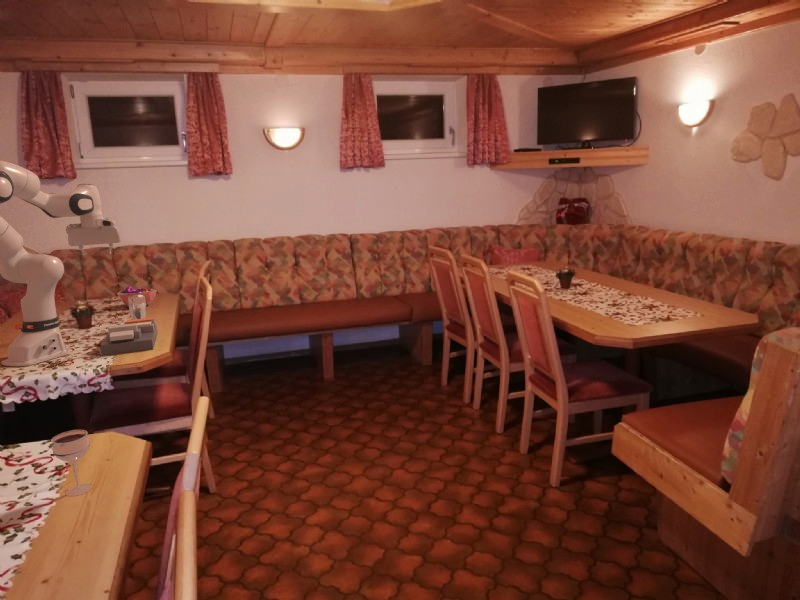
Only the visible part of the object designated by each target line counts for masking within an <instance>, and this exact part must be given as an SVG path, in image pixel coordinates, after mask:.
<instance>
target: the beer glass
mask: <svg viewBox="0 0 800 600" xmlns="http://www.w3.org/2000/svg"><path fill="white" fill-rule="evenodd" d="M128 303H129V306H128V309H129V313H130V317H131V320H134V319H144V318H147V305H146V302H145V297H144V295H133V296H129V297H128Z"/></svg>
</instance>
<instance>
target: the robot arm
mask: <svg viewBox="0 0 800 600" xmlns="http://www.w3.org/2000/svg"><path fill="white" fill-rule="evenodd" d="M12 197H16V198H17V199H18V198H19V199H20V200H21V201H22V200H23V201H24V202H26V203H28V204H30V205H32V206H35V207H37V208H39V209H40V210H41V211H42V212H43V213H44V214H45V215H46V216H48V217H49V218H52V219H57V218H67V217H68V218H70V217H79V220H80V223H70V224H68V225H67V226H66V228H65V231H66V234H67V242H68V245H69V246H70V247H78V250H79V251H80V252H81V253H82V256H83V257H88V251H85V250H84V249H83V248H84V246H94V245H108V247H109V249H107V250H106V254H107V255H111V254H112V248H113V246H114V244H119V243H120V242H122V236H121V232H120V229H119V227H118V226H117V225H116V224H117V222H116V220H114V219H110V218H105V217H104V214H103V212H102V200H101V195H100V191H99V189H98V186H96V185H95V184H91V183H79V184H77V185H76V188H74V189H73V190H71V191H70V192H64V193H53V192H52V193H51V192H49V193H45V192H44V191H42V190H41V180H40V178H39V176H38V175H37V174H36V173H34V172H33V171H31V170H30V169H28V168H25V167H23V166H21V165H18V164H15V163H12V162H8V161H5V160H0V205H1V204H4V203H6V202H8V201H9V200H10V199H12ZM64 274H65V265H64V262H63V261H62V260H61V259H60V258H59V257H57V256H53V255H50V254H45V253H43V254H42V253H40V254H39V253H38V254H37V253H30V252H28V251H27V250H26V249H25V248H24V237H23V236H22V235H21V234H20V233H18V231H16V229H15V228H14V227H13V226H12V225H11V224H10V223H9V222H8V221H7V220H6V219H4V218H3V216H1V215H0V275H1V276H2V278H3V279H5V280H6V281H9V282H12V283H17V284H26V286H27V287H26V292H25V295H24V296H23V297H21V299H20V307H21V314H22V318H23V321H22V324H19V323H16V324H14V326H13V328H14V329H15V330H20V333H19V334H18V335H17V337H16V338H15V339H14V340H13V341H12V342H11V344H9V346H8V347H7V358H5V359H3V360H2V361H1V362H0V363H1V366H5V367H29V366H33V365H36V364H39V363H42V362H47V361H51V360H54V359H57V358H60V357H64V356H67V355H68V348H67V346H66V344H65V341H64V340H63V336H62V333H61V330H60V329H61V328H60V325H61V324H60V318H59V316H58V314H57V309H56V301H55V300H56V299H55V292H56V288H57V284H58V282H59V281H60V280H61V279H62V278H63V276H64Z"/></svg>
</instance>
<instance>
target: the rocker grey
mask: <svg viewBox="0 0 800 600" xmlns="http://www.w3.org/2000/svg"><path fill="white" fill-rule="evenodd" d="M133 337H134V332H133V330H129V331H120V332H112V333H110V341H116V340H124V339H133Z"/></svg>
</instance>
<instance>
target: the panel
mask: <svg viewBox="0 0 800 600" xmlns="http://www.w3.org/2000/svg"><path fill="white" fill-rule="evenodd" d="M156 321H157V320H156V318H153V321H152V322H151V324H152V326H143V327H138V331H137V332H134V337H133V339H124V340H116V341H110V335H109V332H107V333H106V335H105V338H104V340H103V341H102V342H101V344H100V350H101V351H100V353H101V356H102V357H103V356H111V355H119V354H121V355H122V354H129V353H137V352H145V351H152V350H154V349H155V345H156V344H155V343H156V341H157V337H158V333H159V332H158V326H157V322H156ZM125 324H126V321H124V323H123V325H125Z"/></svg>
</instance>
